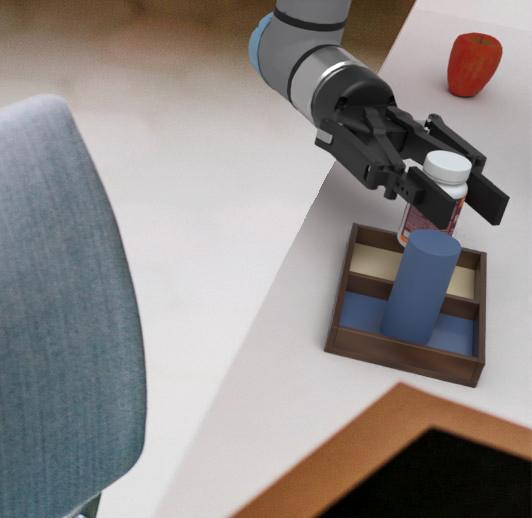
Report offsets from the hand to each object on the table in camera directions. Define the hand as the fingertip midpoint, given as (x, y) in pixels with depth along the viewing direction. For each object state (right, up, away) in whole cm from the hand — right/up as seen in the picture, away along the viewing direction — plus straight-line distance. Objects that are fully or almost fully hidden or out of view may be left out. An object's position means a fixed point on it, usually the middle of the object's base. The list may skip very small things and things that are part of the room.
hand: (474, 213), depth 103 cm
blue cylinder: (-5, -10, +2) cm, 12 cm away
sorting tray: (-4, -8, +7) cm, 11 cm away
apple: (+15, +25, +50) cm, 58 cm away
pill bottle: (-2, -1, +8) cm, 8 cm away
